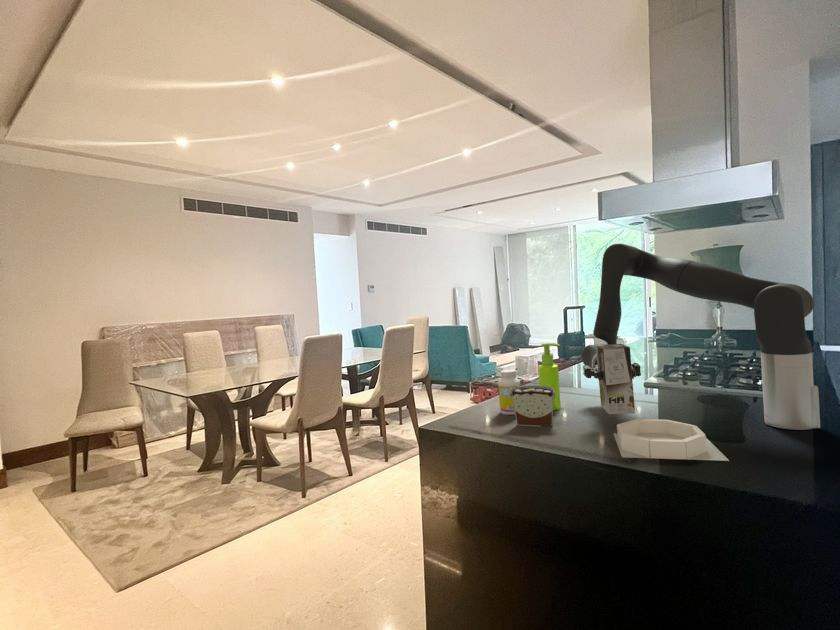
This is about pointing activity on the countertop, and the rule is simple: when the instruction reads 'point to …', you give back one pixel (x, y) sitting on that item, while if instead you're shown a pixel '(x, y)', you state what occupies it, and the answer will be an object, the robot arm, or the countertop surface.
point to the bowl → (661, 438)
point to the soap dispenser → (550, 373)
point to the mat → (709, 455)
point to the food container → (533, 405)
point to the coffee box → (615, 378)
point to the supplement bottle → (507, 391)
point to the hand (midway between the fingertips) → (616, 375)
